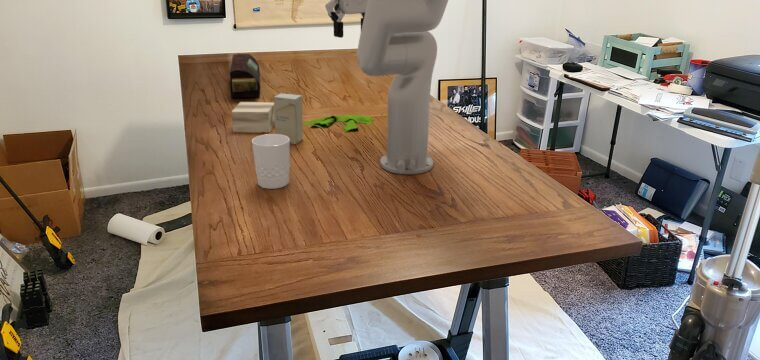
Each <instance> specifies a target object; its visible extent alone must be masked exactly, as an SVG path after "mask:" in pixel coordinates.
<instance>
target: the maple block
mask: <svg viewBox="0 0 760 360" xmlns="http://www.w3.org/2000/svg"><path fill="white" fill-rule="evenodd" d="M231 121H232V132H233V133H262V132H266V134H268V133H267V132H271V130H273V128H274V127H275V113H274V101H273V102H267V101H266V102H265V101H263V102H262V101H259V102H258V101H239V103H238V104H237V105H236V106H235V107H234V108H233V109H232V111H231Z"/></svg>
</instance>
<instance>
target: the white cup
mask: <svg viewBox="0 0 760 360" xmlns="http://www.w3.org/2000/svg"><path fill="white" fill-rule="evenodd" d="M290 145H291V144H290V139H289V137H287V136H285V135H281V134H275V133H266V134H260V135H257V136H255V137H253V138H251V146H252V153H253V162H254V168H255V173H256V178H257V185H258V186H259V187H261V188H263V189H266V190H267V189H270V190H271V189H272V190H274V189H280V188H283V187H286V186H288V184H290V165H291V164H290V163H291V156H290V155H291V152H290V151H291V150H290V147H291V146H290Z"/></svg>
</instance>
